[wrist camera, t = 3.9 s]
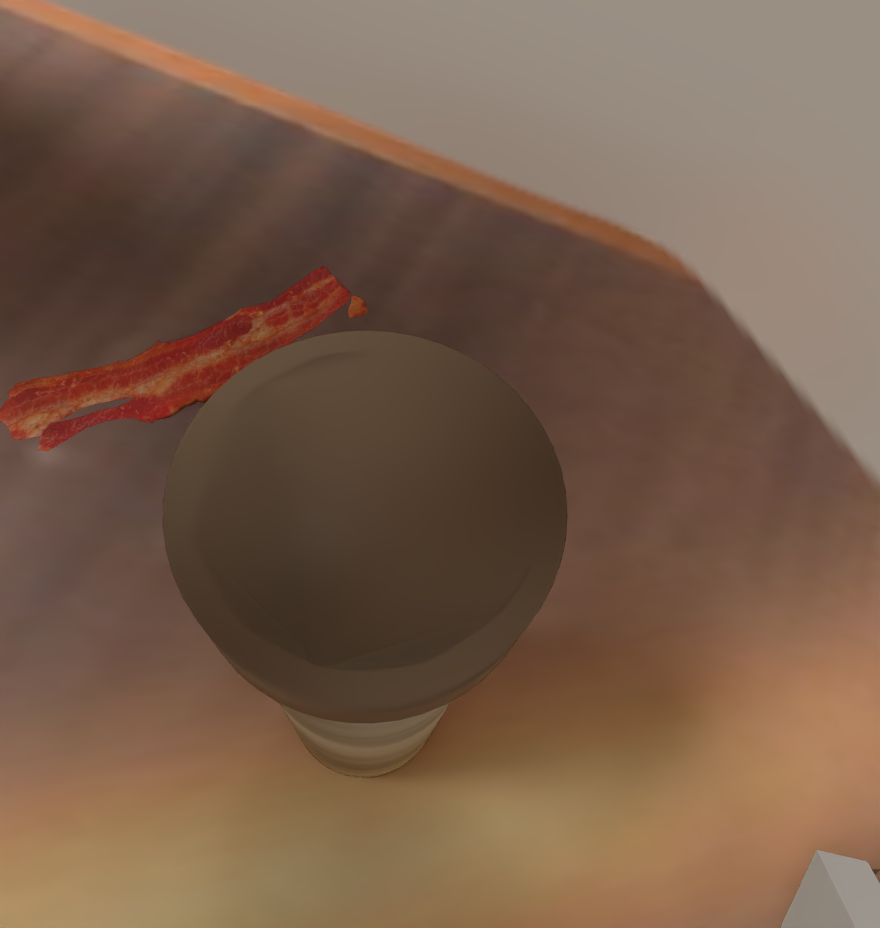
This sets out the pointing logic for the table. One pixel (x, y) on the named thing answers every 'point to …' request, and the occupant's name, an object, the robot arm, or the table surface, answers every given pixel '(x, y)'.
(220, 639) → the beige cylinder
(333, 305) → the bacon strip
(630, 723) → the table surface
